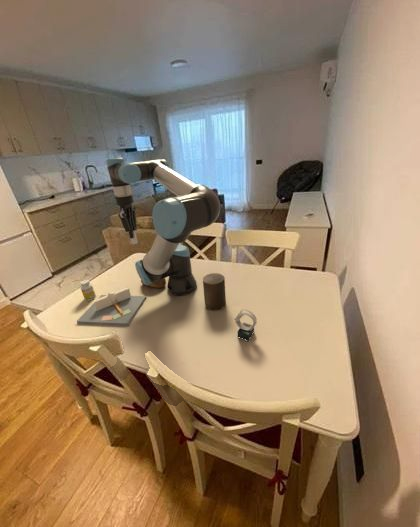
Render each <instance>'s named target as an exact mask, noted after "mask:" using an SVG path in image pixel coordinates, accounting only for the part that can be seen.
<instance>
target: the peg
mask: <svg viewBox="0 0 420 527" xmlns="http://www.w3.org/2000/svg"><path fill="white" fill-rule="evenodd" d="M105 295H106V296H104V297H101V298H99V297H98V298H99V299H98V298H96V299H93V303H94V304H95V307H96V309H97V311H99V310H101V309H103V308H106V307H108V306H111V305H115V306H116V308H117V309H118V310H119V312H120V313H121V314H123V312H122V311H121V310H120V308H119V307H118V305H117V303H118V302H120V301H123V300H125V299H127V298H130V297H131V296H132V295H131V291H130V288H129V287H125V288H121V289H119V290H117V291H114V290H112V291H108V293H107V294H105Z"/></svg>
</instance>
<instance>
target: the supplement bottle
mask: <svg viewBox="0 0 420 527" xmlns="http://www.w3.org/2000/svg"><path fill="white" fill-rule="evenodd" d="M90 282H91V281H90V280H89V279H84V280H82V281H80V290H81V293H82V296H83V298H84V300H85V301H87V302H88V301H92V300H95V298H96V297H97V296H96V291H95V289H94V287H93V284H92V283H90Z"/></svg>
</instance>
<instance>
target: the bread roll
mask: <svg viewBox="0 0 420 527" xmlns="http://www.w3.org/2000/svg"><path fill="white" fill-rule="evenodd" d="M140 283H141V284H142V285H144V286H146V287H151V288H158V289H159V288H163V287H165V286H166V285H167V281H166V278H164V279H161V280H159V281H157V282H154V283H153V284H149V285H145V284H144V283H143V282H142V281H141V280H140Z"/></svg>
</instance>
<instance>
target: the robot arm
mask: <svg viewBox="0 0 420 527" xmlns="http://www.w3.org/2000/svg"><path fill="white" fill-rule="evenodd" d="M106 167H107V170H108V174H109V179H110V183H111V186H112V191H113V194H114V196H115V197H114V199H115V202H116V205H118V206H119V207H120V208H119V209H120V210H119V211H120V213H118V215H117V216H118V217H119V218H120V221H121V224H122V226H123V229H124V231H125V232H127V233H128V235H129V239H130V244H131V245H137V244H138V242H139V241H138V238H137V234H136V231H137V230H138V228H137V217H136V207H134V206H133V203H134V198H133V194H132V189H131V184H137V183H139V182H144V181H150V180H154V181H156V182H157V183H159V185H161V186H163V187H164V188H166V189H167V190H168V191H170V192H171V193H173V194H174V195H176V196H169V197H166V198H164V199H161V200H158V201H157V202H156V203H155V205H154V206H153V208H152V209H153V210H152V213H151V216H152V225H153V228H154V230H155V232H156V236H155V238H154V241H153V243H152V246H151V248H150V250H149V251H148V252H146V253H145V255H143V258H142V259H140V260H137V261H136V262H135V270H136V273H137V275H138V277H139V278H140V282H141V281H142V282H143V283H144V284H145V285H144V286H146V285H149V284H153V283H154V282H157V281H159V280H161V279H164V278H165V279H166V278H168V280H167V281H168V282H167V284H166V285H167V291H168V293H169V294H170V295H173V296H180V297H181V296H187V295H190V294H192V293H194V291H196V289H197V288H198V284H197V280H196V278H195V276H194V274H193V273H192V272H193V270H192V264H191V254H190V248H189V247H188V246H186V245H185V244H183V243H184V242H185V241H187V240H188V238H189V237H190V235H191V234H192V233H193V232H195V231H197V230H200V229H203V228H207V227H209V226H211V225H213V224H214V223H215V222H216V220H217V219H218V218H219V216H220V213H221V203H220V199H219V197H218V195H217V194H216V193H215V191H213V190H212V189H211V188H210V187H209V186H206V185H204V184H197V183H195V182H194V181H192V180H190V179H189V178H187V177H185V176H183V175H182V174H180V173H178V172H177V171H175V170H174V169H172V168H171V166H170V164H169V163H168V161H167V160H166V159H161V158H160V159H159V158H157V159H152V160H143V161H134V162H126V160H125V159H124V157H117V158H116V157H114V158H113V157H112V158H107V159H106Z"/></svg>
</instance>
